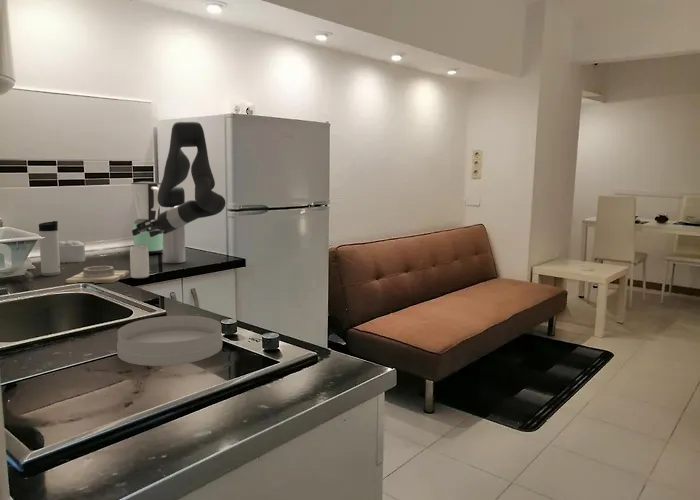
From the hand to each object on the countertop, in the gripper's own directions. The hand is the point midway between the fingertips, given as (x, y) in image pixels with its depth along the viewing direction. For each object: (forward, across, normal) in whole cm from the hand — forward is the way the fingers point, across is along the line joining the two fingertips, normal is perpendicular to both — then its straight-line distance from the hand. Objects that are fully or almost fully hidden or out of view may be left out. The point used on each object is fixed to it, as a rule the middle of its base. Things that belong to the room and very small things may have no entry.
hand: (141, 233), depth 199 cm
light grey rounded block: (+57, -17, -10) cm, 61 cm away
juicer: (+42, -49, -8) cm, 65 cm away
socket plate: (+18, +6, +11) cm, 22 cm away
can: (+8, -2, +14) cm, 16 cm away
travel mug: (+38, +9, +3) cm, 39 cm away
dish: (-52, +59, +50) cm, 93 cm away
